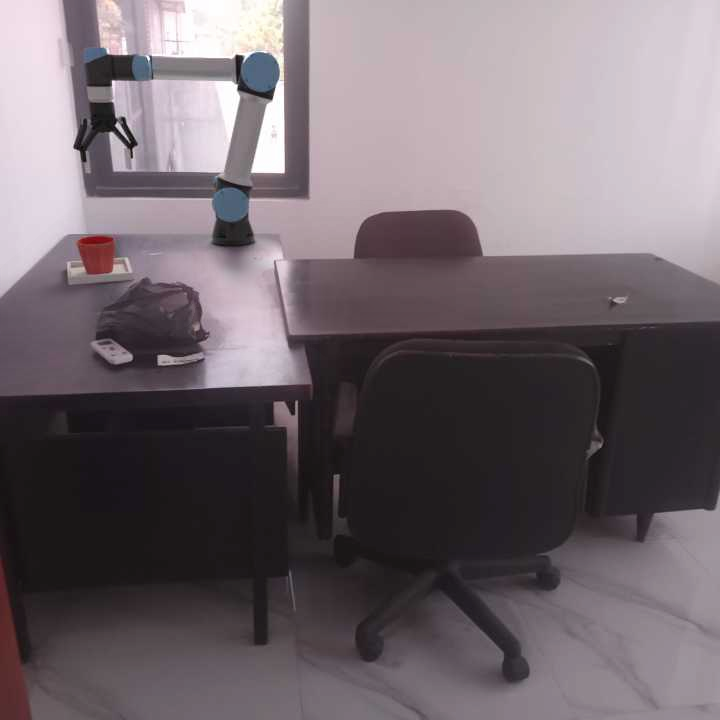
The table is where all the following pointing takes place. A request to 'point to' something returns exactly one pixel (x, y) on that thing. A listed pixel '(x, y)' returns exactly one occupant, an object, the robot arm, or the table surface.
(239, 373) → the table surface
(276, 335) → the table surface
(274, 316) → the table surface
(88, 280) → the drip tray
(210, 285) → the table surface
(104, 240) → the flower pot
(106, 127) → the robot arm
